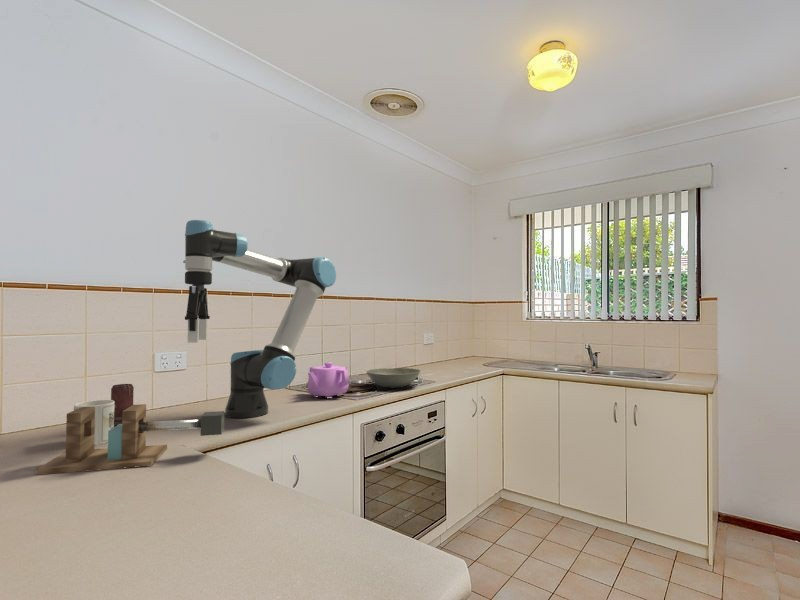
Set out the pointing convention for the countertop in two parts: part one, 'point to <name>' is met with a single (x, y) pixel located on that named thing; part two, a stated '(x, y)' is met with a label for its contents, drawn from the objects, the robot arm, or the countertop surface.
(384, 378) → the bowl
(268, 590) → the countertop surface
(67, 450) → the block
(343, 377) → the teapot
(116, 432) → the block
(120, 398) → the can
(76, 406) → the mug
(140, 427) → the shaft
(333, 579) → the countertop surface
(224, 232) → the robot arm
